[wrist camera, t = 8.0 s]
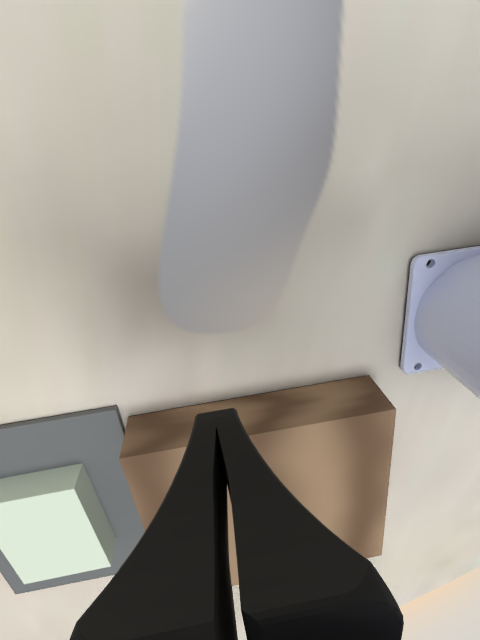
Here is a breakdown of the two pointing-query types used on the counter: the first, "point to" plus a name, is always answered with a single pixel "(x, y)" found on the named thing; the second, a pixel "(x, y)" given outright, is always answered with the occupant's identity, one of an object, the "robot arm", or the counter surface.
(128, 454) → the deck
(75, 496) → the tile
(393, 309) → the counter surface
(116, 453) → the mat
